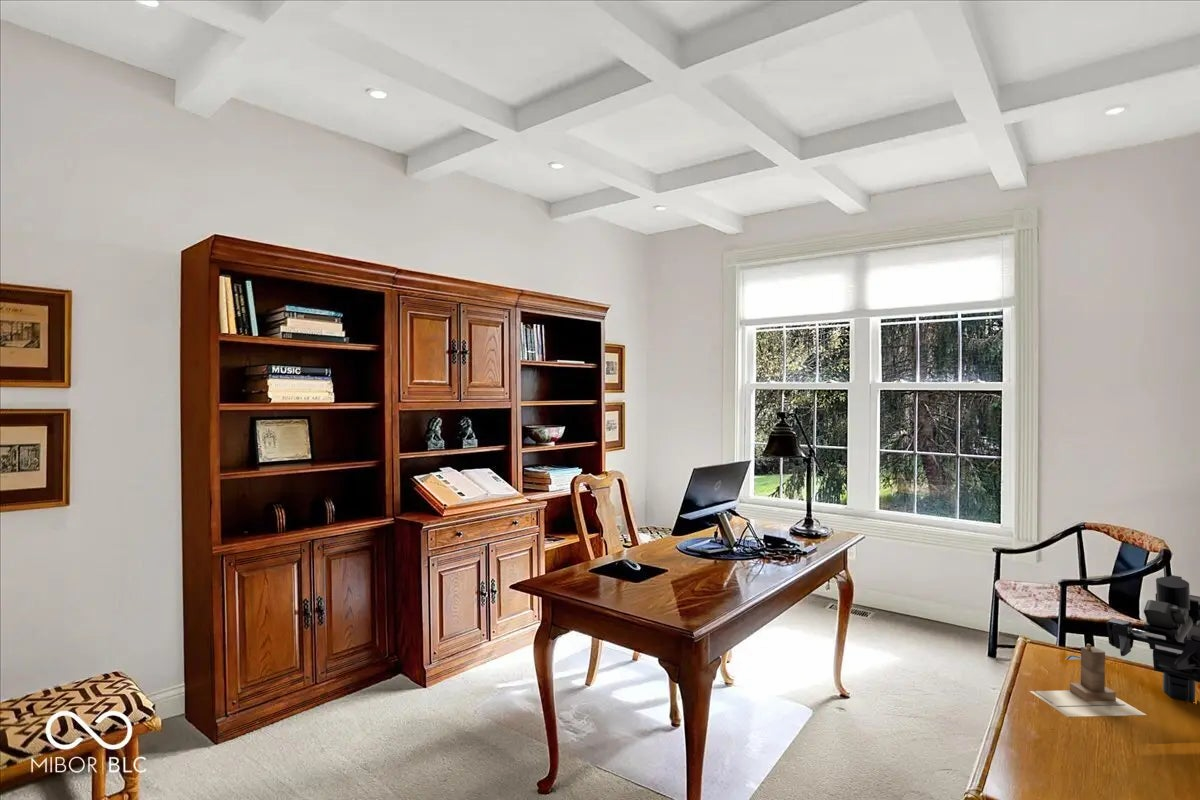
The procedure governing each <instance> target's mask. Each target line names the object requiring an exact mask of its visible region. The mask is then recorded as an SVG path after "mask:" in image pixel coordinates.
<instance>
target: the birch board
mask: <svg viewBox="0 0 1200 800" xmlns="http://www.w3.org/2000/svg"><path fill="white" fill-rule="evenodd" d="M1029 693H1031V694H1033V695H1034V696H1036V697H1037V698H1039V699H1040V700H1041V701H1043V702H1045V703H1046V704H1048V705H1049V706H1051V707H1052V708H1053V709H1055V710H1056V711H1058V712H1060V714H1062V715H1063V716H1065V717H1067V718H1078V717H1079V718H1081V717H1082V718H1083V717H1086V718H1088V717H1120V716H1121V717H1126V716H1127V717H1128V716H1147V714H1146V713H1144V712H1142V711H1141V710H1139V709H1137V708H1136V707H1134V706H1132V705H1130V704H1128V703H1127V702H1125V701H1124V700H1122V699H1120V698H1118V697H1117V696H1116V701H1085V700H1083V699H1081V698H1080V697H1078V696H1077V695H1075V694H1073V693H1072V692H1070V689H1069V690H1064V689H1063V690H1029Z"/></svg>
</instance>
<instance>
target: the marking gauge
mask: <svg viewBox="0 0 1200 800" xmlns="http://www.w3.org/2000/svg"><path fill="white" fill-rule="evenodd" d="M1080 657H1081V659H1080V682H1070V683H1069V690H1070V692H1072V693H1073V694H1075V695H1077V696H1078V697H1080V698H1081V699H1083V700H1085V701H1116V697H1117V692H1116V691H1114V690H1112V689H1111V688H1109V687H1107V686H1106V685H1105V684H1106V652H1105V651H1103V650H1101V649H1100V648H1098V647H1096V646H1092V644H1090V643H1086V646H1081V647H1080Z"/></svg>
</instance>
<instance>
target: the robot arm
mask: <svg viewBox="0 0 1200 800" xmlns="http://www.w3.org/2000/svg"><path fill="white" fill-rule="evenodd" d="M1155 590H1156V593H1155V600H1153V599H1147V601H1146V604H1145V605H1144V606H1145V607H1144V609H1143V614H1144V616H1145V622H1143V627H1144V630H1141V629H1137V628H1133V627H1132V625H1133V624H1132V623H1131V622H1130V621H1127V620H1123V619H1119V618H1114V617H1113V618H1109V620H1107V622H1106V629H1107V639H1108V643H1109V645H1110V646H1112V647H1115V649H1118V650H1119V652H1120V656H1121V657H1125V656H1127V655H1128V654H1130V653H1131V651H1132V648H1133V647H1134V641H1138V642H1142V643H1147V644H1148V646H1149V649H1150V650H1152V661H1153V662H1152V663H1153V671H1154V672H1159V673H1163V674H1162V677H1163V678H1162V692H1163V693H1164V694H1166V695H1168V697H1169V698H1171V699H1173V700H1178V701H1181V702H1185V703H1186V702H1189V703H1191V704H1193V702H1195V697H1196V686H1197V685H1196V684H1197V683H1199V684H1200V596H1199V595H1193V594H1191V593H1190V591H1191V590H1190V583H1189V581H1187V580H1185V579H1184V578H1183V577H1182V576H1179V575H1178V576H1177V575H1175V574H1174V575H1173V574H1171V575H1170V576H1160V577H1157V578H1156V579H1155ZM1196 682H1197V683H1196Z"/></svg>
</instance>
